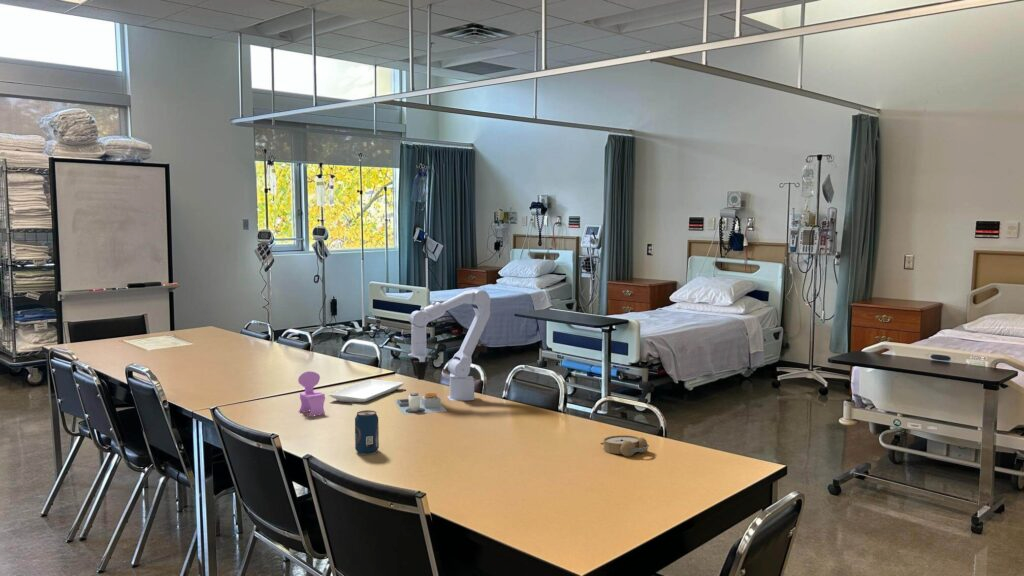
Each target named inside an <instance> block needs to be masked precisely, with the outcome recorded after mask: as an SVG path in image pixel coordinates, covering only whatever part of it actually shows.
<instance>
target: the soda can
mask: <svg viewBox="0 0 1024 576" xmlns="http://www.w3.org/2000/svg"><path fill="white" fill-rule="evenodd" d="M379 427H380V426H379V416H378V415H377V411H376V410H371V409H370V410H361V411H360V410H359V411H357V413H356V415H355V418H354V435H355V436H354V442H355V444H354V445H355V446H354V447H355V451H356V453H357V454H359V455H361V456H363V455H368V456H369V455H373V454H376V453H377V452H378V449H379V447H380V441H379V439H380V438H379V437H380V436H379V433H380V432H379Z"/></svg>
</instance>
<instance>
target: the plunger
mask: <svg viewBox="0 0 1024 576" xmlns="http://www.w3.org/2000/svg"><path fill="white" fill-rule="evenodd" d="M424 396H425V397H426V399H436V396H438V395H437V393H436V392H435V393H432V392H431V393H425V395H424Z"/></svg>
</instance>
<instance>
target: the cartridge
mask: <svg viewBox="0 0 1024 576" xmlns="http://www.w3.org/2000/svg"><path fill="white" fill-rule="evenodd" d="M408 399H409V411H419V410H420V399H421V395H420V394H419V392H411V393H409V394H408Z"/></svg>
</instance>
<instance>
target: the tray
mask: <svg viewBox="0 0 1024 576" xmlns="http://www.w3.org/2000/svg"><path fill="white" fill-rule="evenodd" d="M403 385H405V383H404V382H401V381H391V380H382V379H372V378H371V379H367V380H363V381H360V382H358V383H354V384H353V385H349V386H347V387H344V388H341V389H339V390H337V391H333V392H330V393H328V394H327V395H328V396H329V397H331V398H332V399H335V400H337V401H338V402H343V403H352V402H354V403H366V402H368V401H371V400H374V399H376V398H378V397H381V396H382V395H385V394H391V393H392V392H395V391H396V390H398V389H399V388H401V387H403Z"/></svg>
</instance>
